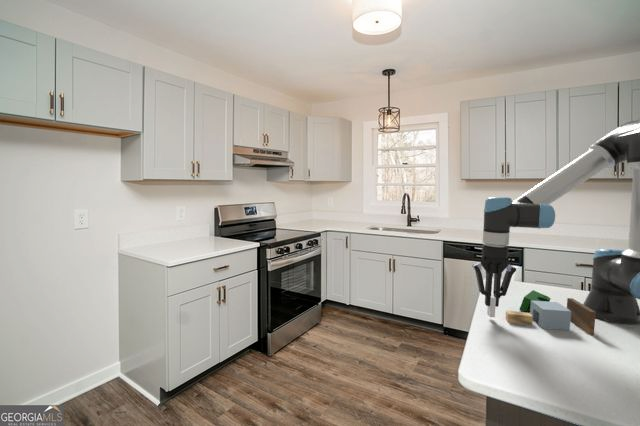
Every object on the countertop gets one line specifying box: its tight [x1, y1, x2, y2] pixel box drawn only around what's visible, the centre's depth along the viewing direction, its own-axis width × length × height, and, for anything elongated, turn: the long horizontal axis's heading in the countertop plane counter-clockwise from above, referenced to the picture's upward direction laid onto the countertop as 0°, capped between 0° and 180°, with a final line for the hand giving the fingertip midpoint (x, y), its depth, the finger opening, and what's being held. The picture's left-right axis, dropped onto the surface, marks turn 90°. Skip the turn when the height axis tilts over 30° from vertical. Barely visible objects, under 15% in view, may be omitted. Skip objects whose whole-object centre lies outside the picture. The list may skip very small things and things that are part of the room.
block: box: [529, 300, 571, 331], centre depth 107 cm, size 8×8×6 cm
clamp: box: [519, 289, 551, 313], centre depth 118 cm, size 12×6×9 cm
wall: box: [566, 297, 596, 335], centre depth 106 cm, size 2×12×7 cm, turn 171°
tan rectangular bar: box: [504, 310, 534, 326], centre depth 109 cm, size 7×3×3 cm, turn 73°
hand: (490, 315), depth 110 cm, fingers closed
